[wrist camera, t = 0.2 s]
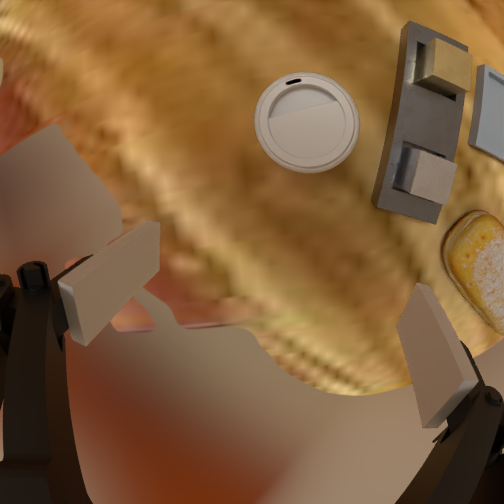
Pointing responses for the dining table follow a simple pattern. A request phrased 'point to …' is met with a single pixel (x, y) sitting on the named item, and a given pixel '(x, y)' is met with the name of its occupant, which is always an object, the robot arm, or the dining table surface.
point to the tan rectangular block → (443, 68)
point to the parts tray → (488, 113)
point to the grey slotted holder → (416, 127)
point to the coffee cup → (307, 122)
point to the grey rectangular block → (425, 175)
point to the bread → (478, 264)
